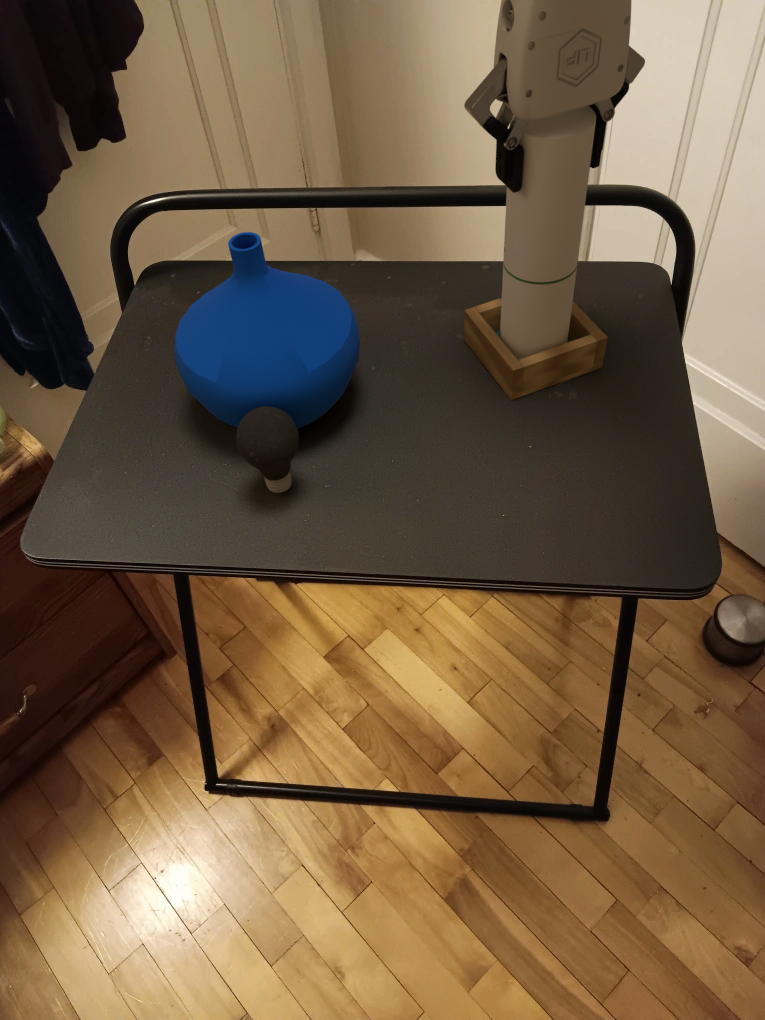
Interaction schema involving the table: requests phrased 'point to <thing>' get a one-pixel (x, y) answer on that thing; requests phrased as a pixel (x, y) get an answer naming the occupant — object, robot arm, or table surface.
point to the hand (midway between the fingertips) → (548, 171)
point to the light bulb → (269, 444)
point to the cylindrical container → (545, 232)
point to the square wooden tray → (539, 368)
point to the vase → (267, 341)
